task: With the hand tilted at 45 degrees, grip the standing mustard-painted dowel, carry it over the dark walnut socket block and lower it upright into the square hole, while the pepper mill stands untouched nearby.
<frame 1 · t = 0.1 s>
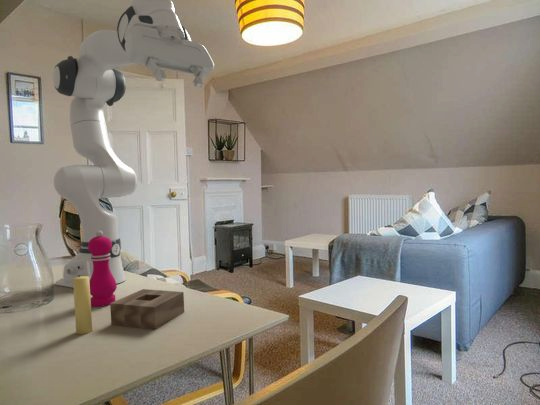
hand: (181, 82, 86), 54 cm above the table, tool tilted 30°, fingers open, 8 cm apart
socket block: (149, 317, 94), on the table
dowel: (84, 331, 86), on the table
pepper mill: (103, 303, 107), on the table
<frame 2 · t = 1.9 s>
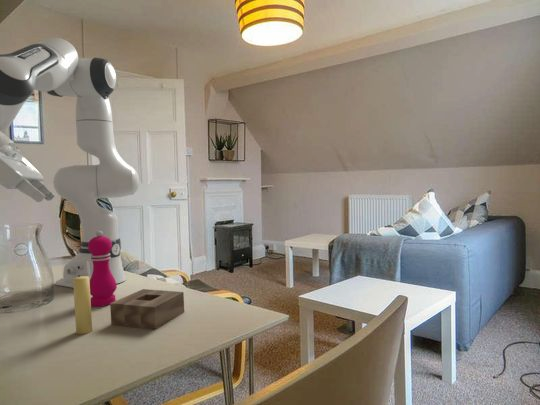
hand: (47, 199, 81), 30 cm above the table, tool tilted 45°, fingers open, 8 cm apart
nothing on the table moved.
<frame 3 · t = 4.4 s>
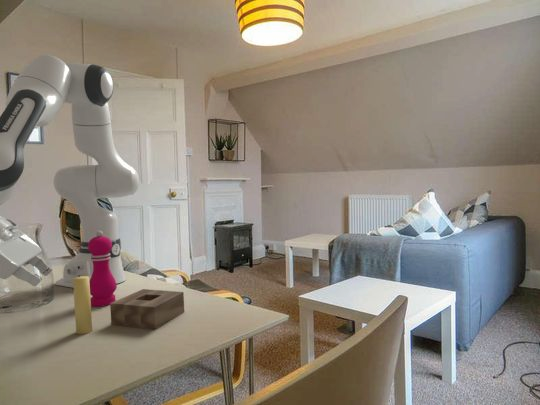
hand: (44, 277, 83), 13 cm above the table, tool tilted 45°, fingers open, 8 cm apart
nothing on the table moved.
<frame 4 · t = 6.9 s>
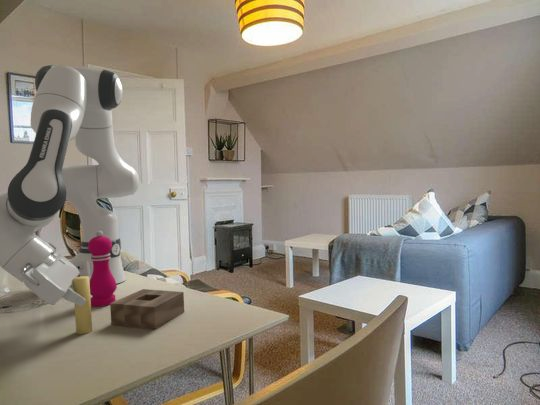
hand: (85, 300, 86), 7 cm above the table, tool tilted 45°, fingers closed on dowel, 3 cm apart
dowel: (84, 331, 86), on the table, touching gripper
everything else where it was.
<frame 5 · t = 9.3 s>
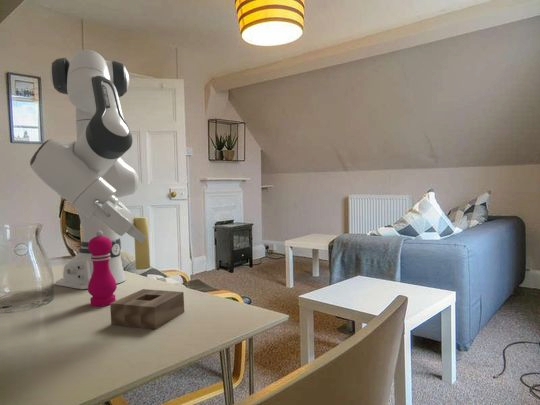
hand: (144, 239, 92), 19 cm above the table, tool tilted 45°, fingers closed on dowel, 3 cm apart
dowel: (142, 267, 93), point 12 cm above the table, touching gripper
everything else where it was.
when the fingers open (9 cm above the table, at t = 11.7 s): dowel drops 2 cm, resting in socket block.
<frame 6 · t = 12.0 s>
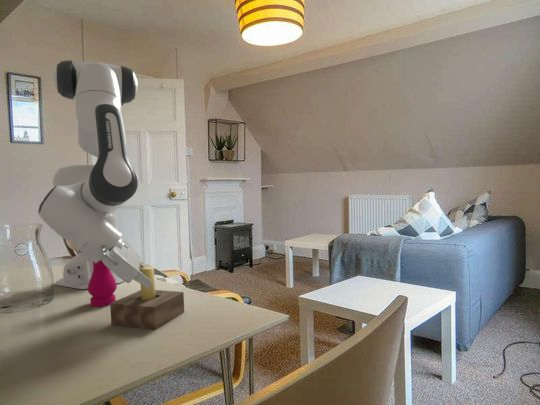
hand: (150, 281, 93), 9 cm above the table, tool tilted 45°, fingers open, 6 cm apart
dowel: (149, 317, 94), resting in socket block
everything else where it was.
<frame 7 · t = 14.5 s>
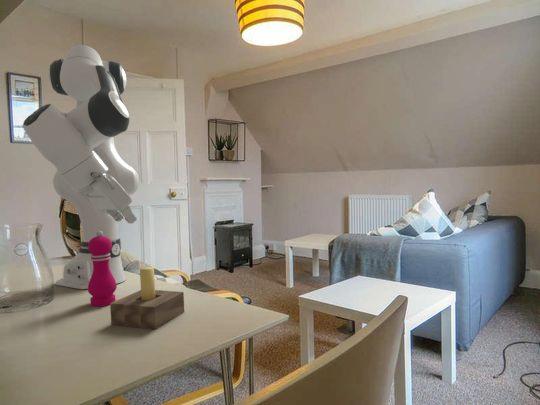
hand: (126, 220, 93), 24 cm above the table, tool tilted 35°, fingers open, 8 cm apart
nothing on the table moved.
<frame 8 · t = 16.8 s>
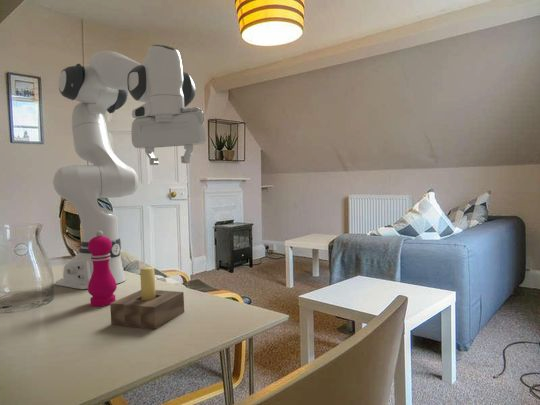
hand: (169, 164, 101), 37 cm above the table, tool pointing down, fingers open, 8 cm apart
nothing on the table moved.
at the end: dowel 0.1 cm off-centre on the socket block, point 0.0 cm above the socket block's base; dowel tilted 0°; the gripper is holding nothing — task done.
